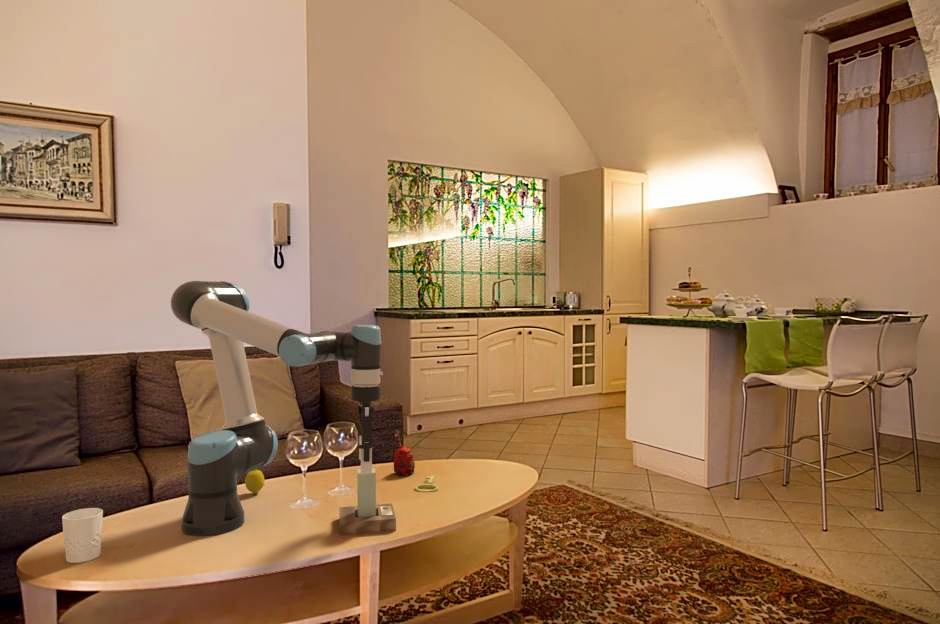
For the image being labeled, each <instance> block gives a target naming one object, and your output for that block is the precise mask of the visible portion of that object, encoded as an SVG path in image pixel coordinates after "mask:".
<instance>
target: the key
mask: <svg viewBox="0 0 940 624" xmlns="http://www.w3.org/2000/svg"><path fill="white" fill-rule="evenodd" d="M425 480H428V481H427V482H426V483H422V484H417V485H415V486H414V491H415V490H416V491H415V492H418V491H419V493H435V492H438V491H439V487H438V485H436V484H432V483H433V481H434V480H435V475H433V474H432V475H430V476H429V475H428V476H427V475H426V476H425ZM433 488H434V489H433ZM427 489H428V490H427Z"/></svg>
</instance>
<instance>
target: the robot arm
mask: <svg viewBox="0 0 940 624" xmlns="http://www.w3.org/2000/svg"><path fill="white" fill-rule="evenodd" d="M170 308H171V311H172V313H173V315H174V316H175V317H176V318H177V319H178V320H179V321H180V322H182V323H183V324H186V325H188V326H192V327H194V328H196V329H199V330H200V329H201V333H202V334H203V335H205V336H207V337H208V338H209V339H208V340H209V344H210V350H211V355H212V360H213V363H214V370H215V373H216V374H215V375H216V379H217V385H218V389H219V394H220V398H221V400H220V401H221V403H222V409H223V414H224V419H225V422H224V424H223V425H222V426H221V428H220V430H213V431H211V432H210V431H209V432H204V433H201V434H199V435H198V436H195V437H193V439H191V441H189V443H188V447H187V450H188V452H187V457H186V459H187V481H188V482H187V483H188V486H187V487H188V497H187V498H188V499H187V502H186V505H185V509H184V512H183V515H182V518H181V524H180V527H181V531H182V532H183V533H184V534H186V535H190V536H211V535H218V534H222V533H223V534H224V533H227V532H230V531H233V530H235V529H237V528H240V527H241V526H243V524H245V521H246V520H245V510H244V508H243V504H242V502H241V499H240V497H239V494H238V477H240V476H243V475H245V474H248V473H249V472H250V471H253V470H260V469H262V468H263V467H265V466H267V465H268V464H270V463H271V462H273V459H275V456H276V454H277V451H278V448H279V447H278V446H279V443H278V436H277V433H276V432H275V430H273V429H272V428H271V427H270V426H269V425H267V424H266V420H265V417H263V416H262V415H260V414H259V413H258V410H257V404H256V399H255V394H254V389H253V384H252V381H251V380H252V379H251V375H250V369H249V365H248V361H247V360H248V359H247V354H246V351H245V345H244V343H245V344H247V345H250V346H253V347H255V348H257V349H260V350H263V351H265V352H267V353H271V354H273V355H275V356H278V357H279V358H280V360H281V361H282V362H283V363H284V364H285V365H287V366H289V367H300V368H301V367H306V366H308V365H309V366H310V365H315V364H319V363H325V362H331V361H340V362H341V361H342V362H343V361H345V362H351V363H350V364H351V368H350V383H351V385H352V386H351V387H350V388H351V389H350V396H351V397H350V399H351V400H352V401H353V402H359V406H357V414H358V421H359V422H358V423H359V428H358V430H359V432H358V433H359V436H358V437H359V439H358V442H359V444H358V450H359V451H358V460H359V461H360V469H361V474H372V468H373V446H374V445H373V423H374V412H375V410H374V409H375V408H374V405H372V402H377V401H379V400H381V385H380V383H381V376H383V375H384V373H383V371H381V357H382V356H381V353H382V352H381V351H382V336H381V335H382V334H381V327H380V326H379V325H374V324H357V325H356V324H355V325H354V324H353V326H352V327H351V331H350V332H349V331H348V332H345V331H342V332H341V331H329V330H322V331H315V332H313V333H305V332H303V331H300V330H297V329H294V328H292V327H290V326H287V325H284V324H282V323H278V322H277V321H273V320H271V319H269V318H266V317H264V316H260V315H258V314H256V313H252V312H250V299H249V296H248V294H247V292H246V290H244V289H243V288H242V287H241V286H240V285H238V284H236V283H235V282H228V281H225V280H224V281H223V280H221V281H207V280H206V281H204V280H202V281H200V280H191V281H186V282H184V283H182V284H180V285H179V286H177V288H176V289H175V290H174V291H173V294H172V296H171V299H170Z"/></svg>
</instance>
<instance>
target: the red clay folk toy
mask: <svg viewBox="0 0 940 624" xmlns="http://www.w3.org/2000/svg"><path fill="white" fill-rule="evenodd" d="M395 431H396V432H394V438H397V437H398V442H399V446H398V448H397V450H396V451H395V454H394V457H393V472H395V474H396V475H397V476H402V477H407V476H409V475H412V474H414V473H415V468H416V463H415V458H414V455H413V453H412V452H411V449H410V448H409V447H408V446H403V445H402V443H401V439H400V435H399V433H401V432H402V431H401V430H400V431H398V430H397V429H395Z"/></svg>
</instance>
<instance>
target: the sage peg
mask: <svg viewBox="0 0 940 624" xmlns="http://www.w3.org/2000/svg"><path fill="white" fill-rule="evenodd" d="M356 471H357V480H356V481H357V506H358V517H371V516H376V505H377V491H376V490H377V481H376V479H377V478H376V477H377V473H376V468H375V467H372V474H361V468H357V469H356Z"/></svg>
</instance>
